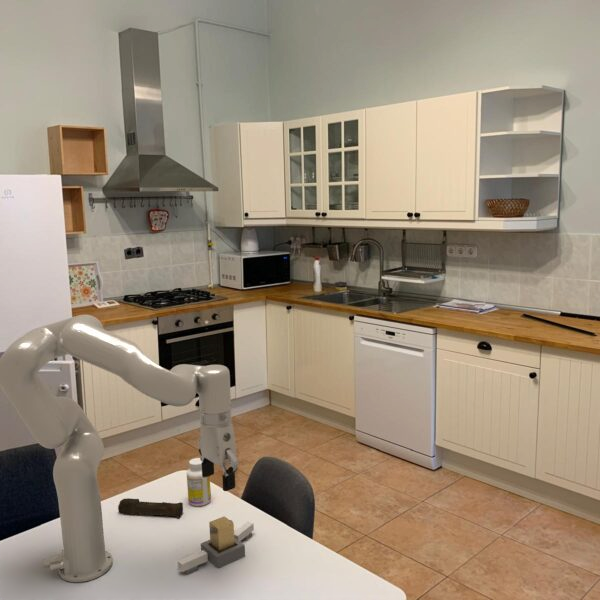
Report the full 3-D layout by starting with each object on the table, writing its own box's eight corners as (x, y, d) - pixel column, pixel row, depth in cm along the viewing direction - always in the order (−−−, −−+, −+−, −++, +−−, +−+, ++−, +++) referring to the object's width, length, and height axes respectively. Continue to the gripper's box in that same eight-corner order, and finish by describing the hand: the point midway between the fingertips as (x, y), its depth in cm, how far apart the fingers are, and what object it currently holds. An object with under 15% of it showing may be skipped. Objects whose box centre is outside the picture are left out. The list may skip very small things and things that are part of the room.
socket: (269, 544, 163) (269, 534, 163) (188, 581, 149) (188, 570, 148) (249, 530, 170) (249, 520, 170) (170, 564, 156) (169, 553, 155)
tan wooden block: (237, 554, 159) (236, 521, 158) (217, 563, 156) (215, 530, 154) (228, 547, 163) (227, 515, 161) (208, 556, 159) (206, 523, 157)
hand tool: (184, 513, 181) (183, 498, 180) (179, 520, 177) (178, 504, 176) (123, 509, 185) (122, 494, 184) (116, 516, 181) (115, 500, 180)
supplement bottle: (203, 494, 192) (201, 454, 189) (215, 501, 187) (213, 461, 184) (184, 501, 187) (181, 460, 185) (195, 509, 182) (193, 467, 180)
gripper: (248, 422, 148) (250, 490, 151) (210, 403, 162) (213, 466, 165) (221, 430, 144) (224, 500, 147) (184, 410, 157) (187, 475, 160)
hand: (218, 482), depth 156 cm, fingers open, 9 cm apart
